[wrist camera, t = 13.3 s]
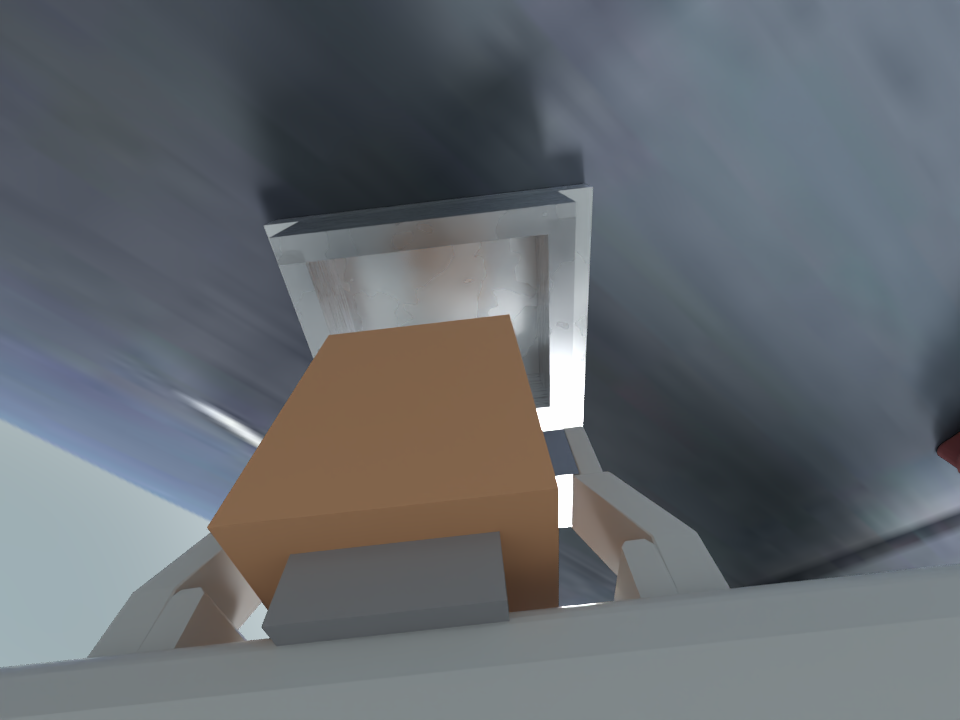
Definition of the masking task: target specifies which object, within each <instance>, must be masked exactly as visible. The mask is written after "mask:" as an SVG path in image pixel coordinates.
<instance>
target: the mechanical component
mask: <svg viewBox="0 0 960 720" xmlns="http://www.w3.org/2000/svg"><path fill="white" fill-rule="evenodd" d="M937 455H938V456H940V457H941V458H943V459H944V460H946V461H947V462H949V463H950V464H952V465H953V466H955V467H956V468H957V469H958V472H959V473H960V432H958V433H957V434H956V435H954V436H953V437H951V438H950V439H948V440H947V441H945V442H944V443H942V444H941V445H940V446H939V447H938V449H937Z"/></svg>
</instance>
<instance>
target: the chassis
mask: <svg viewBox="0 0 960 720" xmlns="http://www.w3.org/2000/svg"><path fill="white" fill-rule="evenodd" d="M592 200H593V187H592V186H590V185H587V184H577V185H569V186H560V187H552V188H543V189H535V190H526V191H518V192H509V193H501V194H492V195H484V196H475V197H467V198H458V199H450V200H441V201H433V202H424V203H416V204H407V205H399V206H390V207H382V208H373V209H365V210H356V211H348V212H339V213H331V214H322V215H314V216H305V217H297V218H288V219H280V220H274V221H272V222H270V223H268V224H266V225H264V228H265V230H266V233H267V236H268V238H269V241H270V244H271V246H272V249H273V252H274V254H275V257H276V260H277V262H278V265H279V268H280V270H281V273H282V276H283V278H284V281H285V284H286V286H287V289H288V292H289V294H290V297H291V300H292V302H293V305H294V308H295V310H296V313H297V316H298V318H299V321H300V324H301V326H302V329H303V332H304V334H305V337H306V340H307V342H308V345H309V348H310V350H311V353H312V356H313V358H314V357H315V356H316V354H317V353H318V351H319V350H320V348H321V346H322V345H323V343H324V342H325V340H326V338H327V337H328V335H334V334H342V333H351V332H360V331H368V330H377V329H386V328H394V327H403V326H412V325H420V324H429V323H438V322H447V321H455V320H464V319H473V318H481V317H490V316H499V315H507V314H509V315H510V318H511V322H512V325H513V329H514V332H515V336H516V339H517V343H518V346H519V350H520V353H521V357H522V360H523V364H524V367H525V371H526V374H527V378H528V381H529V385H530V389H531V392H532V396H533V399H534V403H535V406H536V410H537V413H538V417H539V420H540V424H541V427H542V431H546V430H555V429H563V428H569V427H576V426H582V427H583V408H584V385H585V362H586V339H587V316H588V293H589V270H590V246H591V223H592Z"/></svg>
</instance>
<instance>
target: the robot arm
mask: <svg viewBox="0 0 960 720" xmlns="http://www.w3.org/2000/svg"><path fill="white" fill-rule="evenodd" d="M543 434H544V438H545V441H546V445H547V448H548V452H549V455H550V459H551V462H552V466H553V469H554V473H555V476H556V480H557V483H558V487H559V528H560V527H572V529H573V530H574V531H575V532H576V533H577V534H578V535H579V536H580V537H581V538H582V539H583V540H584V541H585V542H586V543H587V544H588V545H589V547H590V548H591V549H592V550H593V551H594V552H595V553H596V554H597V555H598V556H599V557H600V558H601V559H602V560H603V561H604V562H605V563H606V565H607V566H608V567H609V568H610V569H611V570H612V571H613V572H614V573H615V574H616V575H617V583H616V590H615V596H614V601H610V602H600V603H591V604H582V605H573V606H564V607H554V608H545V609H536V610H527V611H517V612H509V621H506V622H496V623H487V624H478V625H468V626H459V627H450V628H441V629H431V630H422V631H413V632H403V633H394V634H385V635H376V636H366V637H357V638H348V639H338V640H329V641H320V642H311V643H301V644H292V645H283V646H276V645H275V644H274V643H273V641H272V640H271V639H270V638H269V639H259V640H250V641H247V640H246V639H245V638H244V637H243V635H242V634H241V633H240V632H239V631H238V629H239V628H240V627H241V626H242V625H243V624H244V622H245V621H246V620H247V619H248V618H249V616H250V615H251V614H252V613H253V612H254V610H255V609H256V608H257V607H258V606H259V605H260V604H261V600H260V599H259V597H258V596H257V595H256V593H255V592H254V591H253V589H252V588H251V587H250V585H249V584H248V583H247V581H246V580H245V578H244V577H243V576H242V574H241V573H240V572H239V570H238V569H237V568H236V566H235V565H234V564H233V562H232V561H231V559H230V558H229V557H228V555H227V554H226V553H225V551H224V550H223V549H222V547H221V546H220V545H219V543H218V542H217V540H216V539H215V538H214V536H213V535H212V534H211V533H209V534H208V535H207V536H206V537H204V538H203V539H202V540H200V541H199V542H198V543H196V544H195V545H194V546H193V547H191V548H190V549H189V550H187V551H186V552H185V553H184V554H182V555H181V556H180V557H179V558H177V559H176V560H175V561H173V562H172V563H171V564H169V565H168V566H167V567H166V568H164V569H163V570H162V571H161V572H159V573H158V574H157V575H155V576H154V577H153V578H151V579H150V580H149V581H148V582H146V583H145V584H144V585H142V586H141V587H140V588H139V589H137V590H136V591H135V592H133V594H132V595H131V596H130V598H129V599H128V601H127V602H126V604H125V605H124V606H123V608H122V609H121V610H120V612H119V613H118V615H117V616H116V618H115V619H114V620H113V622H112V623H111V625H110V626H109V627H108V629H107V630H106V632H105V633H104V635H103V636H102V637H101V639H100V640H99V642H98V643H97V645H96V646H95V647H94V649H93V650H92V651H91V653H90V654H89V656H88V657H87V658H83V659H74V660H65V661H56V662H46V663H37V664H27V665H18V666H9V667H0V720H960V564H951V565H942V566H933V567H924V568H914V569H905V570H896V571H887V572H878V573H869V574H859V575H850V576H841V577H832V578H822V579H813V580H804V581H795V582H785V583H776V584H767V585H758V586H748V587H739V588H730V587H729V586H728V584H727V582H726V580H725V579H724V577H723V575H722V574H721V572H720V570H719V569H718V567H717V565H716V564H715V562H714V560H713V559H712V557H711V555H710V554H709V552H708V550H707V549H706V547H705V545H704V544H703V542H702V540H701V539H700V537H699V535H698V534H697V532H696V531H694V530H693V529H692V528H690V527H689V526H687V525H686V524H684V523H683V522H681V521H680V520H679V519H677V518H676V517H674V516H673V515H671V514H670V513H668V512H667V511H665V510H664V509H663V508H661V507H660V506H658V505H657V504H655V503H654V502H652V501H651V500H650V499H648V498H647V497H645V496H644V495H642V494H641V493H639V492H638V491H636V490H635V489H634V488H632V487H631V486H629V485H628V484H626V483H625V482H623V481H622V480H621V479H619V478H618V477H616V476H615V475H613V474H612V473H610V472H609V471H608V472H603V471H602V469H601V466H600V464H599V462H598V459H597V457H596V455H595V452H594V450H593V448H592V446H591V443H590V441H589V439H588V436H587V434H586V432H585V429H584V428H583V427H582V426H576V427H569V428H563V429H555V430H546V431H543Z"/></svg>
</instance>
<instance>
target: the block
mask: <svg viewBox="0 0 960 720" xmlns="http://www.w3.org/2000/svg"><path fill="white" fill-rule="evenodd" d="M207 528H208V530H209V531H210V532H211V534H212V535H213V536H214V538H215V539H216V540H217V542H218V543H219V545H220V546H221V547H222V549H223V550H224V551H225V553H226V554H227V555H228V557H229V558H230V559H231V561H232V562H233V564H234V565H235V566H236V568H237V569H238V570H239V572H240V573H241V574H242V576H243V577H244V578H245V580H246V581H247V583H248V584H249V585H250V587H251V588H252V589H253V591H254V592H255V593H256V595H257V596H258V597H259V599H260V600H261V602H262V603H263V604H264V606H265V607H266V608H267V610H268V611H267V614H266V617H265V619H264V622H263V624H262V629H263V630H264V631H265V632H266V634H267V635H268V636H269V637H270V639H271V640H272V641H273V643H274V644H275V645H276V646H283V645H292V644H301V643H311V642H320V641H329V640H338V639H348V638H357V637H366V636H376V635H385V634H394V633H403V632H413V631H422V630H431V629H441V628H450V627H459V626H468V625H478V624H487V623H496V622H506V621H509V612H517V611H527V610H536V609H545V608H554V607H559V487H558V483H557V480H556V476H555V473H554V469H553V466H552V462H551V459H550V455H549V452H548V448H547V445H546V441H545V438H544V434H543V431H542V427H541V424H540V420H539V417H538V413H537V410H536V406H535V403H534V399H533V396H532V392H531V389H530V385H529V381H528V378H527V374H526V371H525V367H524V364H523V360H522V357H521V353H520V350H519V346H518V343H517V339H516V336H515V332H514V329H513V325H512V322H511V318H510V315H509V314H507V315H499V316H490V317H481V318H473V319H464V320H455V321H447V322H438V323H429V324H420V325H412V326H403V327H394V328H386V329H377V330H368V331H360V332H351V333H342V334H334V335H328V337H327V338H326V340H325V342H324V343H323V345H322V346H321V348H320V350H319V351H318V353H317V354H316V356H315V357H314V359H313V361H312V362H311V364H310V365H309V367H308V369H307V370H306V372H305V373H304V375H303V377H302V378H301V380H300V381H299V383H298V384H297V386H296V388H295V389H294V391H293V392H292V394H291V396H290V397H289V399H288V400H287V402H286V403H285V405H284V407H283V408H282V410H281V411H280V413H279V415H278V416H277V418H276V419H275V421H274V422H273V424H272V426H271V427H270V429H269V430H268V432H267V434H266V435H265V437H264V438H263V440H262V441H261V443H260V445H259V446H258V448H257V449H256V451H255V453H254V454H253V456H252V457H251V459H250V460H249V462H248V464H247V465H246V467H245V468H244V470H243V472H242V473H241V475H240V476H239V478H238V479H237V481H236V483H235V484H234V486H233V487H232V489H231V491H230V492H229V494H228V495H227V497H226V498H225V500H224V502H223V503H222V505H221V506H220V508H219V510H218V511H217V513H216V514H215V516H214V517H213V519H212V521H211V522H210V524H209V525H208V527H207Z"/></svg>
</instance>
